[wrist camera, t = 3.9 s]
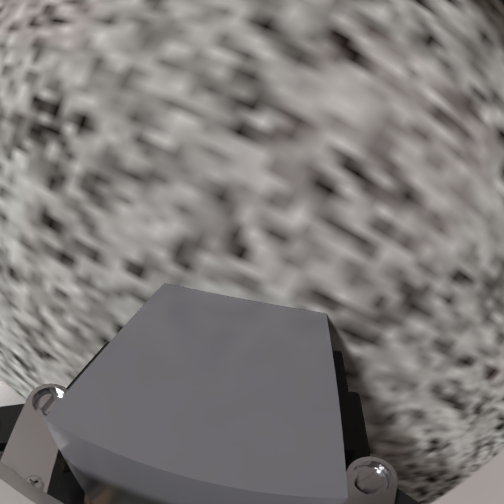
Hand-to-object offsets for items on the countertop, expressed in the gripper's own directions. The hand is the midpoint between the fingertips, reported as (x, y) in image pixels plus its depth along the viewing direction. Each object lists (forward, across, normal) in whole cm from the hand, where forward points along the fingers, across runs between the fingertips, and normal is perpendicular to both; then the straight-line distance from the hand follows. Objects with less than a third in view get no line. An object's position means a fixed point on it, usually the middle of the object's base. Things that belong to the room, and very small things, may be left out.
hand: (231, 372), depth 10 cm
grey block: (+1, 0, 0) cm, 1 cm away
